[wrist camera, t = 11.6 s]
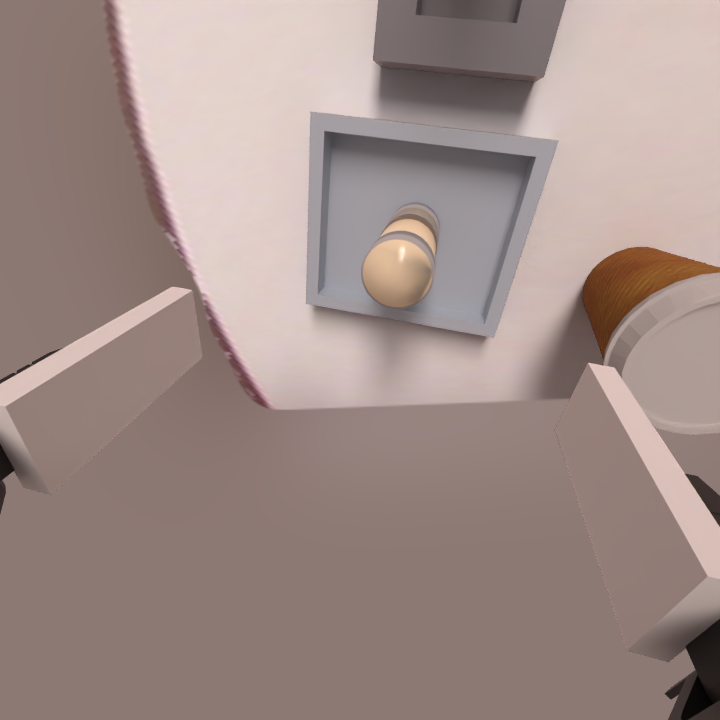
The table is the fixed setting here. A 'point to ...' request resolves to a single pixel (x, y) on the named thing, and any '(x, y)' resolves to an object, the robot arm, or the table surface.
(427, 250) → the fuse
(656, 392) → the disposable coffee cup
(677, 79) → the table surface
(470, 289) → the parts tray
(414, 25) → the grey slotted block
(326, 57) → the table surface
